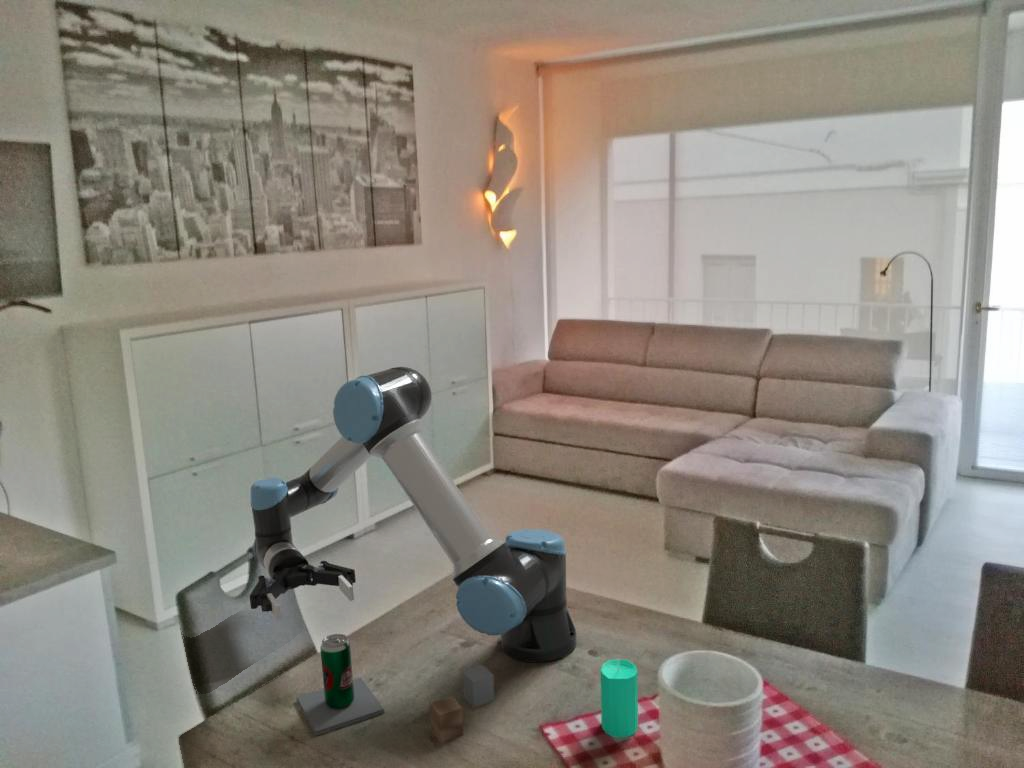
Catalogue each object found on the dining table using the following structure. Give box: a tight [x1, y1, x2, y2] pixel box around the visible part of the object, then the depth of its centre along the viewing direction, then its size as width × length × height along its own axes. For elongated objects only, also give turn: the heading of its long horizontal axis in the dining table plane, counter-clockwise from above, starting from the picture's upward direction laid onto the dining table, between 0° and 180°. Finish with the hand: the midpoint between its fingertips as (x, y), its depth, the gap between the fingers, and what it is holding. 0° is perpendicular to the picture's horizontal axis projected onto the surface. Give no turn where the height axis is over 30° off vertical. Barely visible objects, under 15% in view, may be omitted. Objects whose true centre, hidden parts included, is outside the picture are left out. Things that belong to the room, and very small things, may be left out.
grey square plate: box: [296, 676, 385, 736], centre depth 145 cm, size 12×12×1 cm
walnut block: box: [429, 695, 464, 744], centre depth 136 cm, size 4×4×5 cm
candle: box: [600, 659, 639, 738], centre depth 135 cm, size 6×6×12 cm
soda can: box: [319, 633, 354, 709], centre depth 144 cm, size 5×5×12 cm
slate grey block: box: [462, 664, 495, 709], centre depth 146 cm, size 4×4×5 cm
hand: (315, 603), depth 151 cm, fingers open, 13 cm apart
